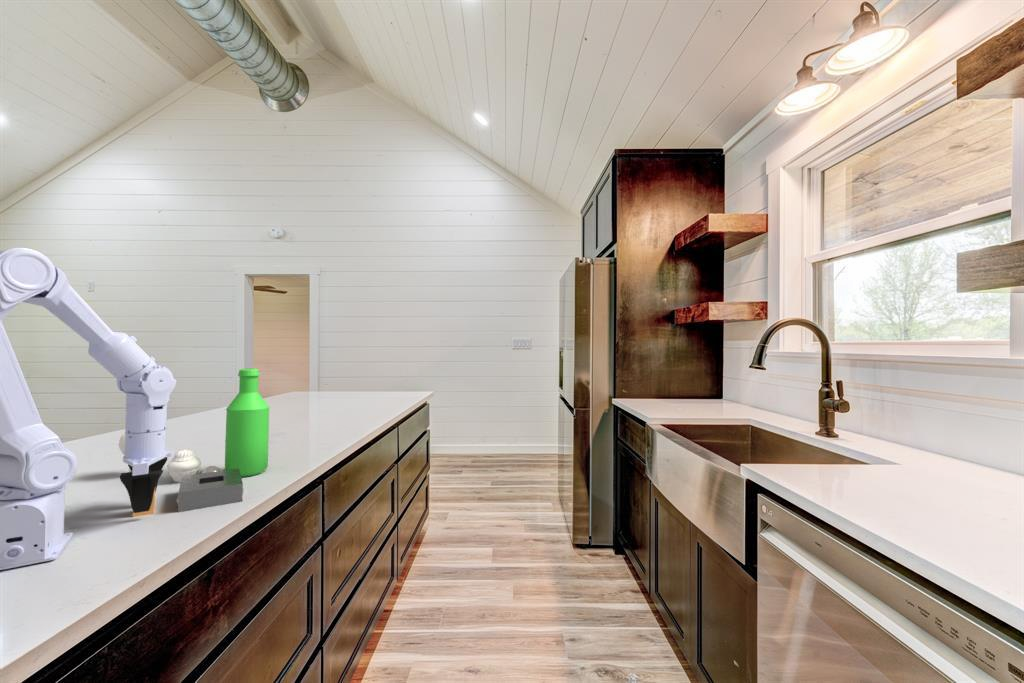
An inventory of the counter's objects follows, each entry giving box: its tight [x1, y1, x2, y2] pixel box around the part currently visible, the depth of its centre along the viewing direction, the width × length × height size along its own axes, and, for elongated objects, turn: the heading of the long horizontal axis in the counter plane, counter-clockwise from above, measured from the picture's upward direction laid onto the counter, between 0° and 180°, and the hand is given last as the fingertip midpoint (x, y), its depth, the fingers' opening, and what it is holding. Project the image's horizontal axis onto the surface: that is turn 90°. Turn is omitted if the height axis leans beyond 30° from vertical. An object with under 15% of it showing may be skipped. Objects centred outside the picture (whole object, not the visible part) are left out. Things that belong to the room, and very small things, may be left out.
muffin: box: [166, 448, 202, 483], centre depth 95 cm, size 6×6×7 cm
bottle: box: [224, 368, 270, 478], centre depth 102 cm, size 9×9×25 cm
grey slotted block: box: [176, 465, 244, 513], centre depth 87 cm, size 17×11×4 cm, turn 36°
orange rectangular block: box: [132, 490, 156, 518], centre depth 77 cm, size 3×3×6 cm
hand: (144, 504), depth 77 cm, fingers open, 7 cm apart
